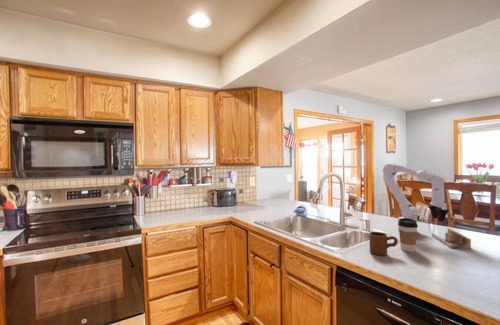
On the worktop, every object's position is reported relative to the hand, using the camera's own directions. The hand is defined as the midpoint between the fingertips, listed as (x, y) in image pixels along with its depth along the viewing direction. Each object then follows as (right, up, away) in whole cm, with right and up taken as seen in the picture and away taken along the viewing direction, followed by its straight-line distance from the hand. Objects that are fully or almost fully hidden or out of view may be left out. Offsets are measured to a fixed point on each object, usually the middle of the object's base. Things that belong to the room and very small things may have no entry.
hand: (438, 219), depth 139 cm
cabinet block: (-3, -10, -14) cm, 17 cm away
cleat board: (0, -10, -9) cm, 14 cm away
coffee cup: (-30, -11, -19) cm, 37 cm away
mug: (-44, -11, -23) cm, 51 cm away
